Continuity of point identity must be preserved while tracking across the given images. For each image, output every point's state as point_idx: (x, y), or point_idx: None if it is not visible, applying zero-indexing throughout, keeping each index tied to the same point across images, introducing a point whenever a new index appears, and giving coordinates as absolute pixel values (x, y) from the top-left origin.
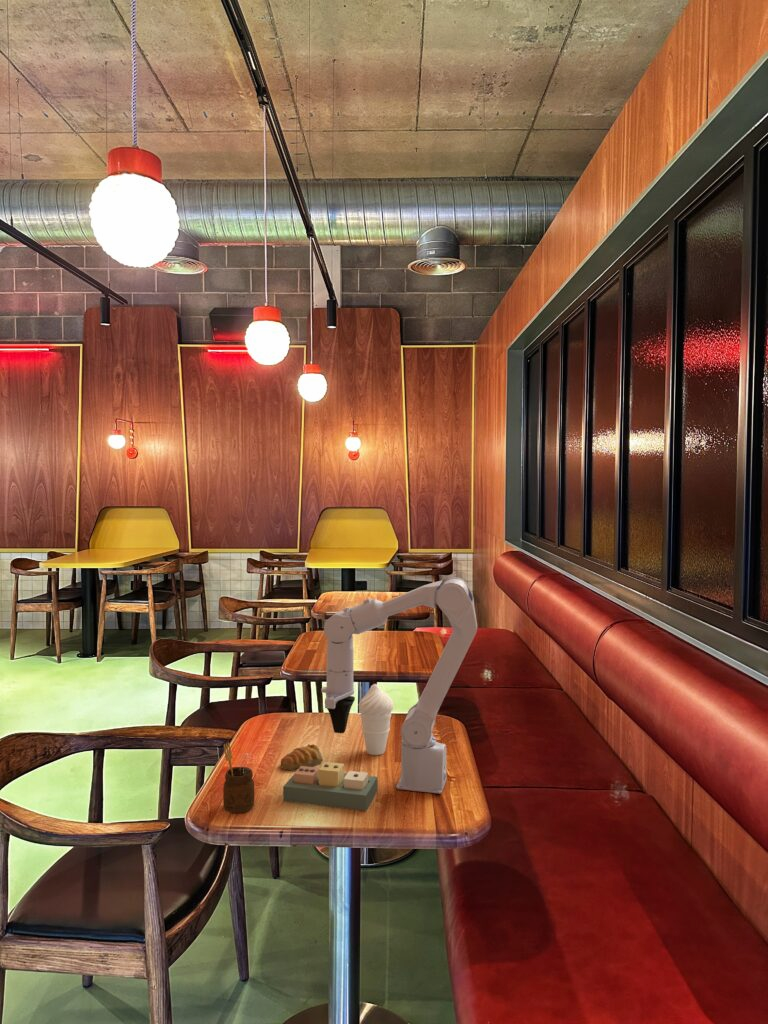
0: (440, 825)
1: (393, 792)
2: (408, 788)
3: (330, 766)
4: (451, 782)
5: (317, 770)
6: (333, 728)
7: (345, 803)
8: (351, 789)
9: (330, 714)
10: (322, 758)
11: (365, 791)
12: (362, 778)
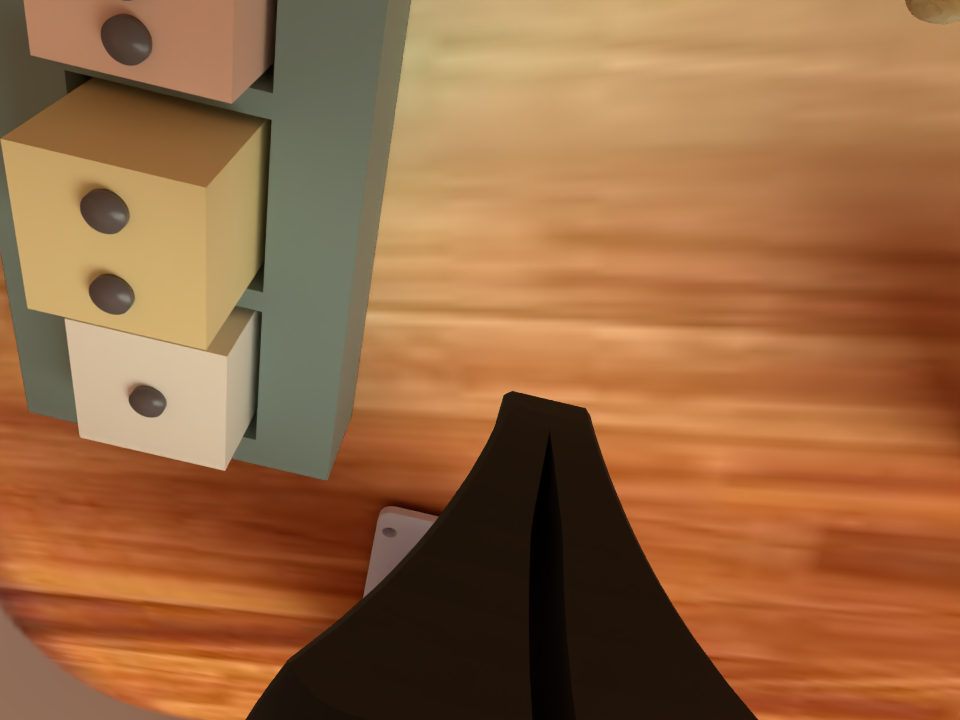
0: (62, 606)
1: (350, 485)
2: (370, 559)
3: (114, 244)
4: None
5: (171, 88)
6: (502, 416)
7: None
8: None
9: (402, 560)
10: (932, 22)
11: None
12: (119, 434)
